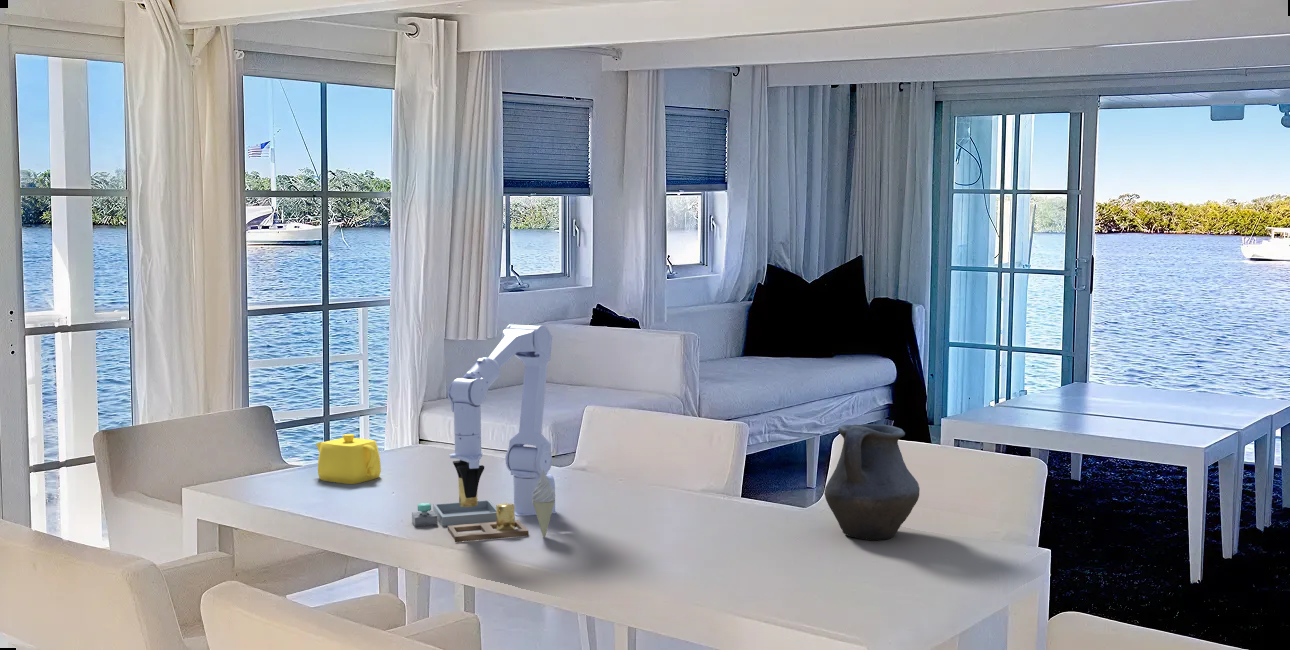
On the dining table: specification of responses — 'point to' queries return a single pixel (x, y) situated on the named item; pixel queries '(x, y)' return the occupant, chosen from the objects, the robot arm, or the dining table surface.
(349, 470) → the teapot
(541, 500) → the ice cream cone
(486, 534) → the board
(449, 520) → the tray
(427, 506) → the button
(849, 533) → the pitcher
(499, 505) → the cylinder
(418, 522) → the button housing
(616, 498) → the dining table surface
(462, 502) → the block
